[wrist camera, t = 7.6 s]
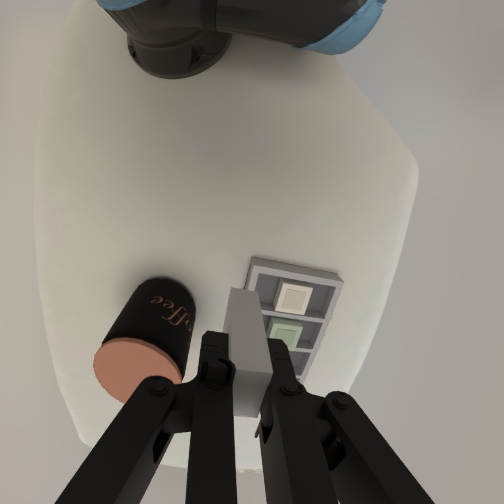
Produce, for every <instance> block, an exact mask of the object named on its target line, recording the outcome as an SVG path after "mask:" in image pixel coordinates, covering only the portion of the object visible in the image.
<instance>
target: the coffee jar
mask: <svg viewBox="0 0 504 504" xmlns="http://www.w3.org/2000/svg"><path fill="white" fill-rule="evenodd" d="M195 312H196V308H195V305H194V302H193V299H192V297H191V296H190V295H189V293H188V292H187V290H186V289H184V288H183V287H182V286H181V285H179V284H178V283H176V282H173V281H171V280H168V279H159V278H157V279H152V280H147V281H146V282H144V283H142V284H141V285H139V286H138V288H137V289H136V290H135V292H134V293H133V294H132V296H131V298H130V299H129V301H128V302H127V304H126V305H125V307H124V308H123V310H122V311H121V313H120V315H119V316H118V318H117V319H116V321H115V322H114V324H113V326H112V327H111V329H110V330H109V332H108V334H107V335H106V337H105V339H104V340H103V342H102V346H101V347H100V349H99V350H98V351H97V353H96V354H95V356H94V363H93V368H94V372H95V375H96V378H97V379H98V381H99V383H100V384H101V386H102V387H103V388H104V389H105V390H106V391H107V392H108V393H109V394H110V395H111V396H112V397H114V398H116V399H117V400H119V401H120V402H122V403H124V404H125V403H126V402H127V400H128V399H129V398H130V396H131V395H132V393H133V392H134V391H135V389H136V388H137V387H138V385H139V384H140V382H141V381H142V380H143V379H145V378H146V377H149V376H154V375H159V376H164V377H166V378H168V379H170V380H172V382H173V383H174V384H181V383H182V380H183V378H184V375H185V370H186V364H187V359H188V353H189V348H190V343H191V337H192V332H193V327H194V322H195Z"/></svg>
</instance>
